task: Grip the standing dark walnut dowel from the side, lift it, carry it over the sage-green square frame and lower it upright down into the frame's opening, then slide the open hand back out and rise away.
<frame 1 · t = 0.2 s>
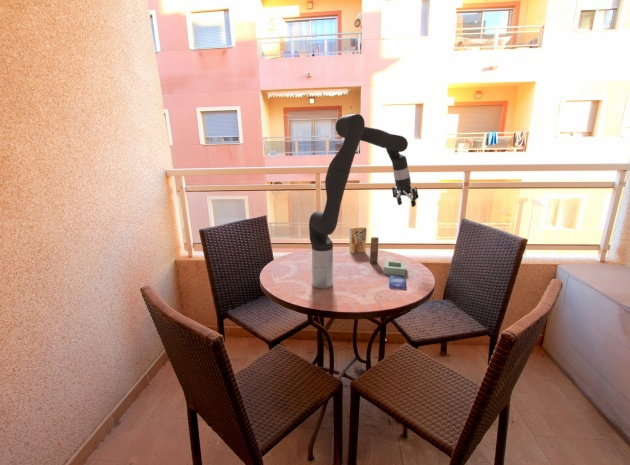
hand: (406, 205, 155), 30 cm above the table, tool tilted 20°, fingers open, 8 cm apart
dowel: (373, 263, 158), on the table
square frame: (394, 271, 146), on the table
candy box: (357, 252, 176), on the table
smartphone: (397, 283, 134), on the table
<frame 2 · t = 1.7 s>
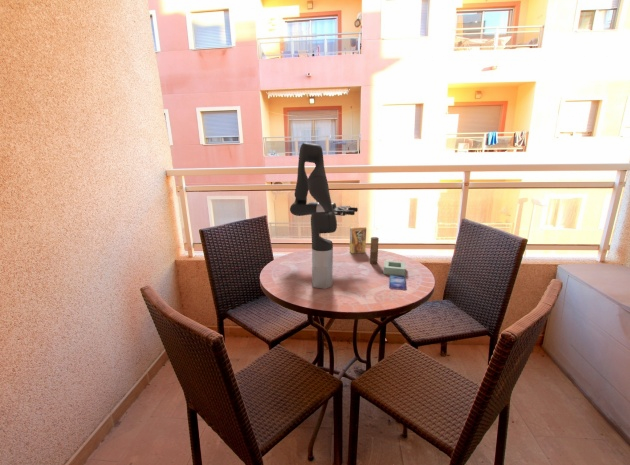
hand: (356, 211, 153), 28 cm above the table, tool horizontal, fingers open, 8 cm apart
nothing on the table moved.
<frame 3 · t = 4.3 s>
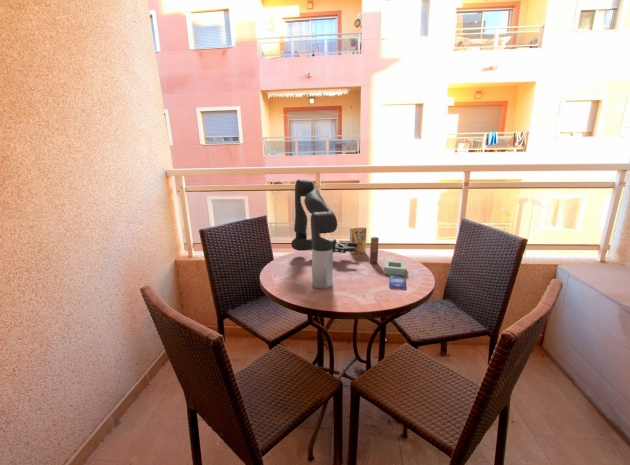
hand: (355, 247, 158), 8 cm above the table, tool horizontal, fingers open, 8 cm apart
nothing on the table moved.
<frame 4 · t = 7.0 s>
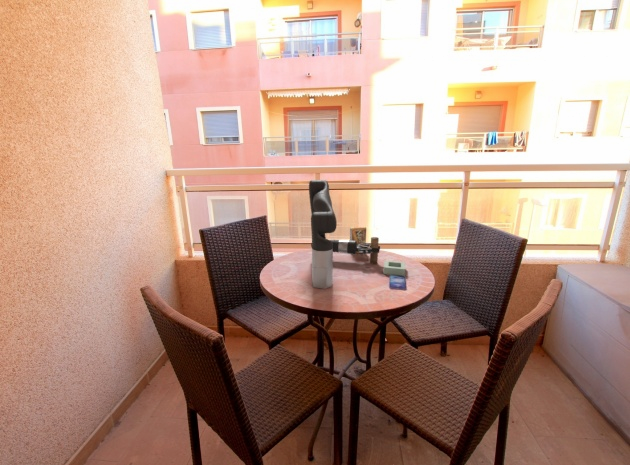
hand: (379, 249, 155), 8 cm above the table, tool horizontal, fingers closed on dowel, 4 cm apart
dowel: (373, 262, 158), on the table, touching gripper
everything else where it was.
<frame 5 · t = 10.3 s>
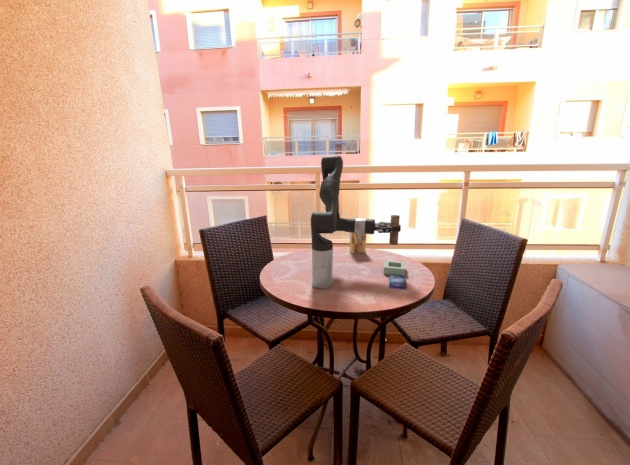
hand: (400, 228, 141), 22 cm above the table, tool horizontal, fingers closed on dowel, 4 cm apart
dowel: (393, 243, 144), point 14 cm above the table, touching gripper
everything else where it was.
when the fingers open (9 cm above the table, at t = 13.9 s): dowel drops 1 cm, resting in square frame.
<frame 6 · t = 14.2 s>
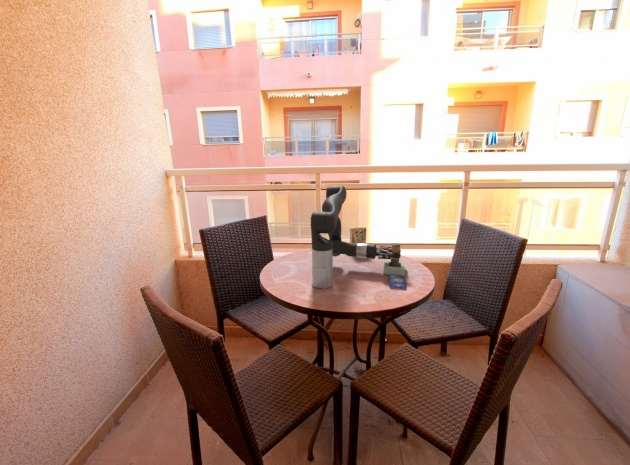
hand: (400, 253, 143), 10 cm above the table, tool horizontal, fingers open, 6 cm apart
dowel: (394, 271, 146), resting in square frame
everything else where it was.
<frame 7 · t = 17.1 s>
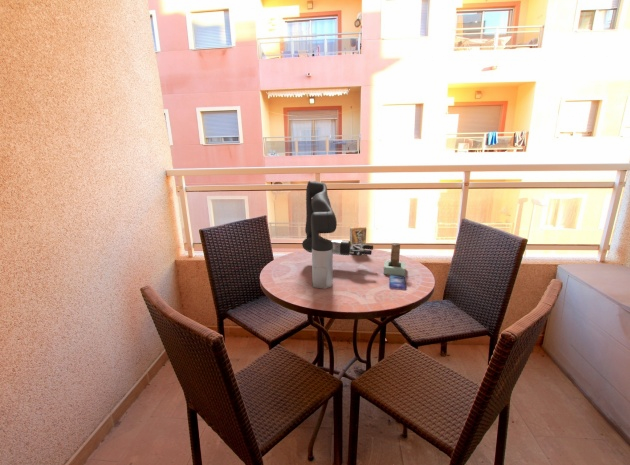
hand: (372, 250, 147), 10 cm above the table, tool horizontal, fingers open, 8 cm apart
nothing on the table moved.
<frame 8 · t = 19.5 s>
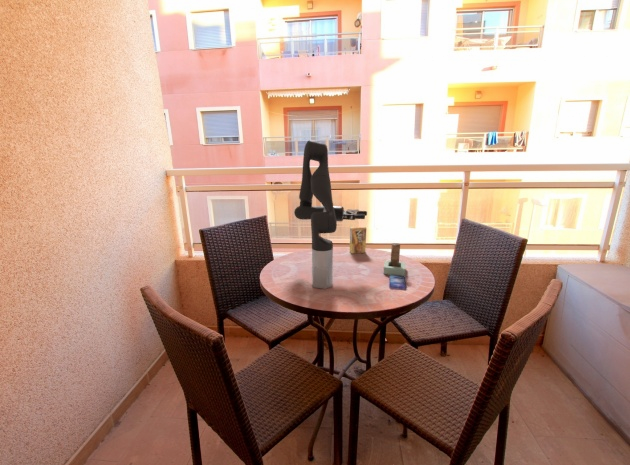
hand: (365, 215, 143), 28 cm above the table, tool horizontal, fingers open, 8 cm apart
nothing on the table moved.
at the end: dowel 0.0 cm off-centre on the square frame, point 0.0 cm above the square frame's base; dowel tilted 0°; the gripper is holding nothing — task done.
